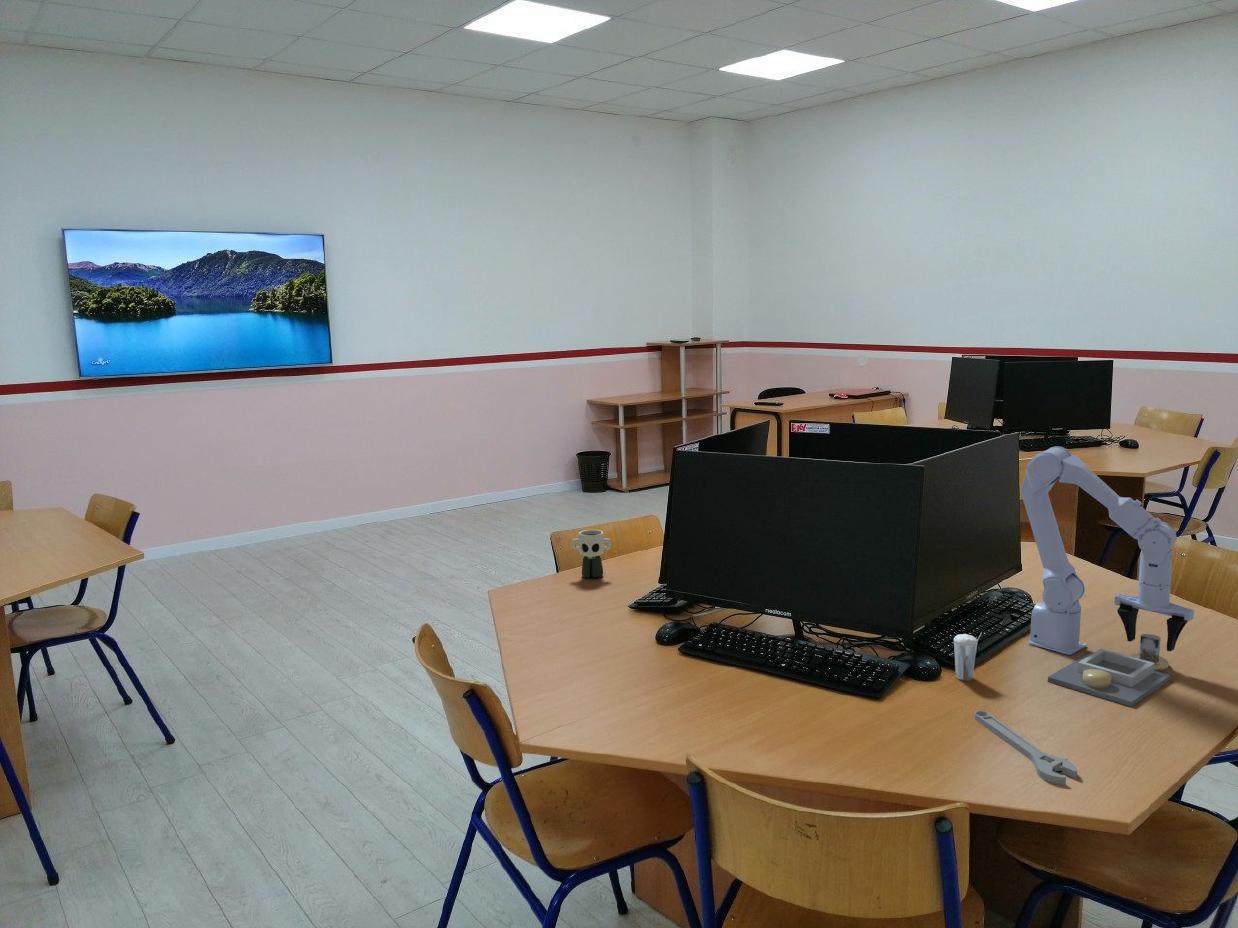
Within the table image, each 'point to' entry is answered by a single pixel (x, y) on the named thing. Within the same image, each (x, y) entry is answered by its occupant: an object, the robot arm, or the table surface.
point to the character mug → (591, 551)
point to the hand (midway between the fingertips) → (1150, 644)
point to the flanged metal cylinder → (1151, 651)
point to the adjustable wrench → (1029, 751)
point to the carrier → (1111, 677)
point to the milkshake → (965, 656)
